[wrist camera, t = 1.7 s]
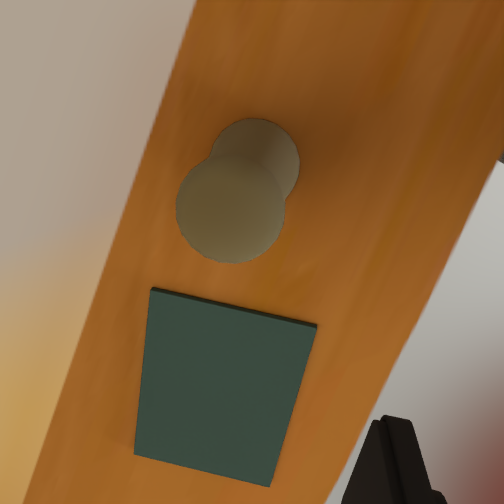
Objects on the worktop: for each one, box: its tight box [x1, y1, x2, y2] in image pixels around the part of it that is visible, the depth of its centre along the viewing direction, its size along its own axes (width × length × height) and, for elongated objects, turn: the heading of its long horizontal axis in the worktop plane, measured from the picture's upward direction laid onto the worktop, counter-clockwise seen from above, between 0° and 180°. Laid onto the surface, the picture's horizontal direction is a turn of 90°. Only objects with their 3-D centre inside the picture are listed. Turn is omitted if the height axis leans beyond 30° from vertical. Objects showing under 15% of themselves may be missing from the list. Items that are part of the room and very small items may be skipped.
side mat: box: [134, 287, 317, 487], centre depth 38 cm, size 13×18×1 cm
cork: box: [176, 119, 300, 264], centre depth 25 cm, size 6×6×11 cm
